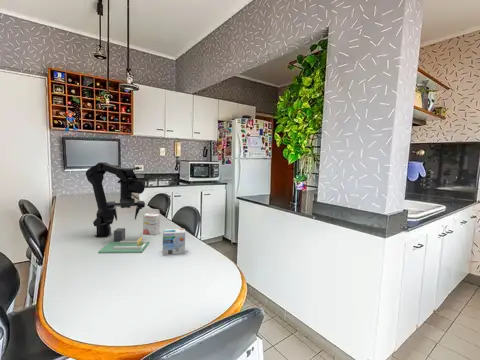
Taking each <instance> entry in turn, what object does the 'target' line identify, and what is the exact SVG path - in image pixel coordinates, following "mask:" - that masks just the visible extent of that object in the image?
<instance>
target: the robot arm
mask: <svg viewBox="0 0 480 360" xmlns="http://www.w3.org/2000/svg"><path fill="white" fill-rule="evenodd" d="M106 173H110V174H113V175H114V176H116V177H117V178H118V179H119V180H118V181H117V184H120V186H119V187H120V189H119V190H120V191H119V194H120V195H119V197H120V198H119V202H116V200H115V201H107V199H106V198H107V197H106V193H105V190H104V186H103V181H104V178H105V174H106ZM85 176H86V179H87V182H89V183H90V184H91V186H92V189H93V194H94V198H95V201H96V206H97V211H96V216H95V217H96V218H95V219H94V220H93V221H92V222H93V223H92V224H93V226H94V227H96V235H95V236H94V237H96V238H108V237H109V236H110V235H111V234H112V226H111V225H113V222H114V219H115V221H118V214H117V213H118V212H117V207H120V208H121V209H125V208H127V209H130V208H131V207H136V208H135V214H134V220H135V221H136V220H137V216H138V214H139V212H140V210H142V209H144V208H145V207H146V204H145V201H144V200H137V201H136V200H135V199H136V198H135V197H133V194H138V195H139V194H140V195H142V194H143V192H144V191H145V185H144V183H142V182H143V181H142V180H139V178H138V177H137V175H136V173H135V171H134V169H133V168H130V167H129V168H128V167H119V166H117V165H114V164H110V163H108V162H106V161H105V162H98V163H96V164H95V165H93V166H91V167H89V168H88V169H87V170H86V171H85Z"/></svg>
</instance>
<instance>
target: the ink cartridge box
mask: <svg viewBox="0 0 480 360" xmlns="http://www.w3.org/2000/svg"><path fill="white" fill-rule="evenodd" d="M160 213H161V212H160V209H159V208H158V209H157V208H147V209H146V213H145V214H143V220H142V221H143V223H142V226H143V227H142V231H143V232H142V234H143V235H150V236H151V235H152V236H156V235H159V234H160V228H161V227H160V224H161V221H160V219H161V215H160Z"/></svg>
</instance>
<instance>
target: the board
mask: <svg viewBox="0 0 480 360" xmlns="http://www.w3.org/2000/svg"><path fill="white" fill-rule="evenodd" d="M149 244H150V241H147V240H143V236H140V237H138V239H137V240H123V241H120V242H114V241H109V242H108V243H107V244H105V245H104V246H103V247H102V248H100V250H98V251H97V253H98V254H141V253H142V254H143V252H144V251H145V250H146V248H147V247H148V246H149Z"/></svg>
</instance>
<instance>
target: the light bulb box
mask: <svg viewBox="0 0 480 360" xmlns="http://www.w3.org/2000/svg"><path fill="white" fill-rule="evenodd" d="M185 252H186V229H185V228H171V229H170V228H169V229H167V228H166V229H163V231H162V256H166V255H168V256H169V255H183V254H185Z"/></svg>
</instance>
